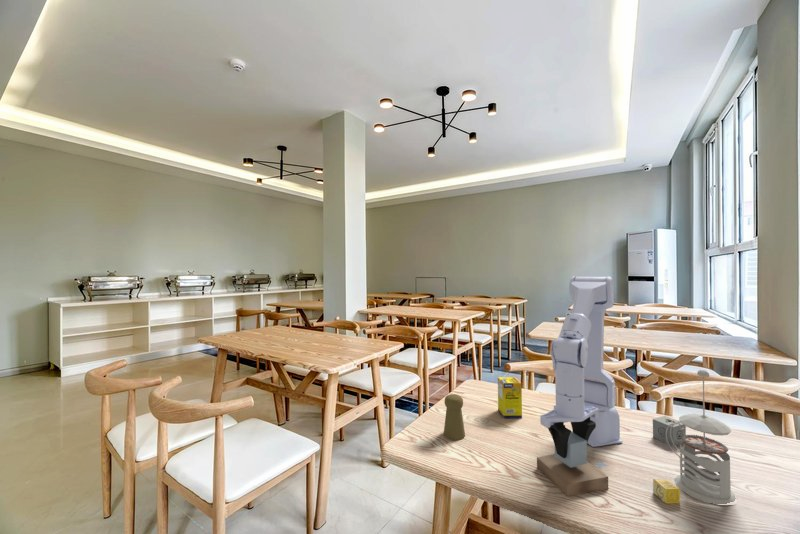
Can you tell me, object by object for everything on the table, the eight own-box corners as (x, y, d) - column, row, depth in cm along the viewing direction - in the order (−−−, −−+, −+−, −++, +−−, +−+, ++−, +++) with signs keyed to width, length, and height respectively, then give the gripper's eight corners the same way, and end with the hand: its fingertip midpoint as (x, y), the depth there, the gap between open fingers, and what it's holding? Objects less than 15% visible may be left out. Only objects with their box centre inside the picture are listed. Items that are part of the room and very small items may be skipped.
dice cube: (685, 442, 88) (685, 423, 88) (673, 446, 86) (673, 427, 86) (665, 433, 93) (664, 415, 93) (652, 437, 91) (652, 418, 91)
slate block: (570, 452, 77) (570, 431, 77) (586, 463, 73) (586, 440, 73) (554, 456, 76) (554, 434, 76) (570, 467, 71) (570, 444, 71)
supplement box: (522, 418, 103) (522, 382, 103) (503, 418, 103) (502, 383, 103) (516, 409, 109) (515, 376, 109) (497, 410, 109) (497, 376, 109)
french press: (722, 512, 63) (720, 380, 63) (655, 477, 74) (653, 364, 74) (748, 497, 67) (746, 373, 67) (680, 466, 78) (679, 359, 78)
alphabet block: (667, 492, 69) (666, 478, 69) (680, 503, 66) (680, 488, 66) (652, 493, 69) (652, 478, 69) (665, 504, 66) (665, 488, 66)
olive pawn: (441, 438, 92) (440, 398, 92) (446, 428, 98) (445, 390, 98) (462, 442, 90) (462, 401, 90) (467, 431, 95) (466, 393, 95)
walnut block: (573, 463, 80) (573, 451, 80) (608, 490, 70) (608, 476, 70) (537, 469, 78) (536, 457, 78) (567, 498, 68) (567, 484, 68)
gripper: (580, 382, 80) (581, 438, 80) (530, 390, 76) (531, 450, 76) (606, 392, 73) (607, 454, 73) (553, 402, 69) (554, 467, 69)
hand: (570, 453), depth 74 cm, fingers closed on slate block, 4 cm apart
